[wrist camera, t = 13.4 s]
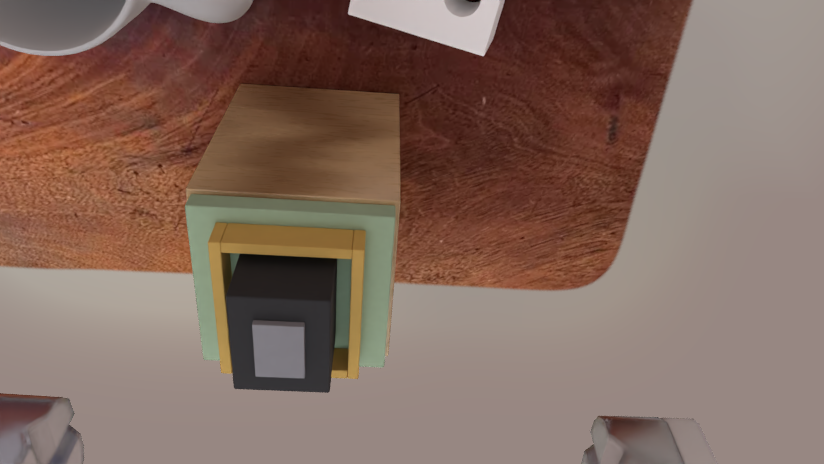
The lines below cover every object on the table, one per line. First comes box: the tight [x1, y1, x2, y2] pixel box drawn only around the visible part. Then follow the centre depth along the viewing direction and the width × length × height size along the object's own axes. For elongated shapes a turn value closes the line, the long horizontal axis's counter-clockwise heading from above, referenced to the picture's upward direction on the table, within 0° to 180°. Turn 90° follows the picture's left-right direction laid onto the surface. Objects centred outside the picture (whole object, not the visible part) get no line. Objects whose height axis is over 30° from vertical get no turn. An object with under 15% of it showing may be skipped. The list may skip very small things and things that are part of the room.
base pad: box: [185, 194, 396, 379], centre depth 30 cm, size 9×9×2 cm
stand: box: [186, 84, 401, 356], centre depth 36 cm, size 9×9×12 cm
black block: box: [226, 254, 337, 393], centre depth 29 cm, size 4×5×4 cm
